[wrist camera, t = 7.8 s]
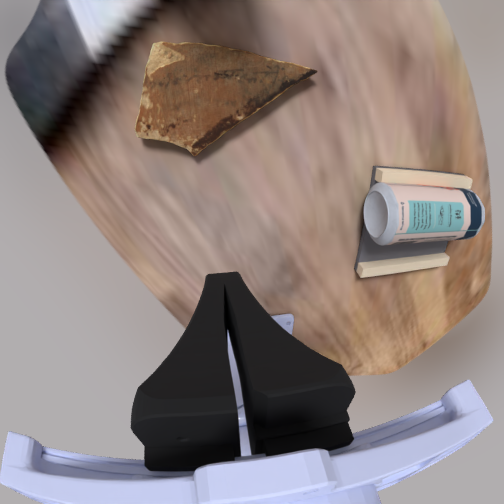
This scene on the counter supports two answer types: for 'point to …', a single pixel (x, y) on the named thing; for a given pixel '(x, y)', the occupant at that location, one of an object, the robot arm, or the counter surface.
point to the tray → (412, 254)
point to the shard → (207, 91)
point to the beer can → (421, 213)
